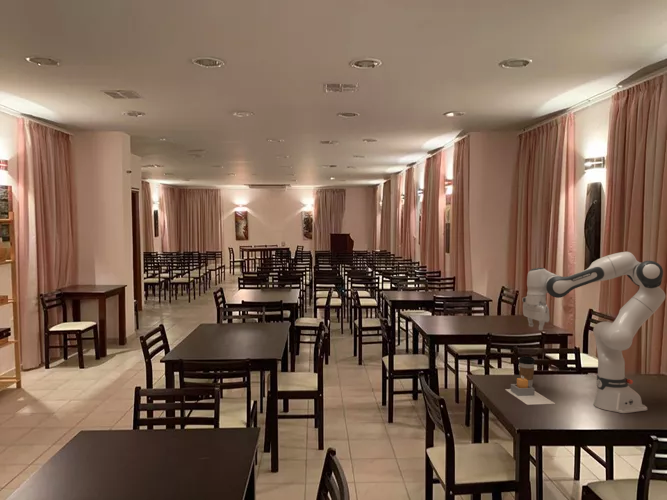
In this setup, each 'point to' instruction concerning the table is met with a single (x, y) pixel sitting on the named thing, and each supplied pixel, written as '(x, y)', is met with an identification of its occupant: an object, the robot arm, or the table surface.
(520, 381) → the plug
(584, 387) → the table surface
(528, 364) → the coffee cup
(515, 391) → the white board with socket
